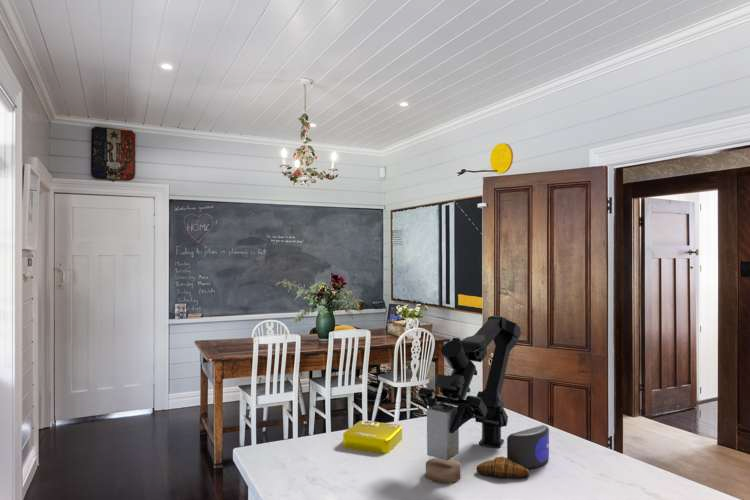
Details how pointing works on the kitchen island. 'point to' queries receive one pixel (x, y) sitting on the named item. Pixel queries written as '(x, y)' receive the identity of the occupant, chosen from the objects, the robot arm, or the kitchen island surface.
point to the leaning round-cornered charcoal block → (529, 447)
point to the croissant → (502, 468)
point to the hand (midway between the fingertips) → (440, 430)
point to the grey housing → (442, 432)
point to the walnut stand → (443, 470)
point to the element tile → (372, 436)
